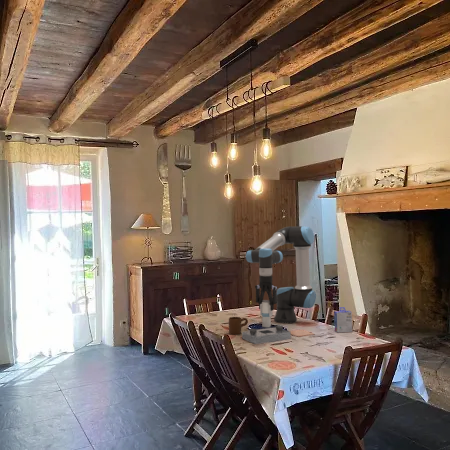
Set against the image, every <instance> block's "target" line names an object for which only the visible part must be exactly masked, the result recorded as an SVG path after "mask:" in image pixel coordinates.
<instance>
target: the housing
mask: <svg viewBox="0 0 450 450" xmlns="http://www.w3.org/2000/svg"><path fill="white" fill-rule="evenodd" d="M290 331H291V330H290ZM290 331H289V330H286V329H281V331H278V329H276V326H275V327H266V328H260V329H257V333H255V334H253V335H252V334H251V333H250V331H249V330H245V331H241V334H242V335H241V336H242V337H241V338H242V340H245V341H246V342H249V343H251V344H253V345H258V344H264V343H265V344H266V343H271V342H279V341H284V340H291V337H292V335H291V332H290Z"/></svg>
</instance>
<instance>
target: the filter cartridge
mask: <svg viewBox="0 0 450 450" xmlns="http://www.w3.org/2000/svg"><path fill="white" fill-rule="evenodd" d="M269 305H270V301H269V299H263V302H262V316H261V324H262V325H261V326H262V328H272V316H271V317H269Z"/></svg>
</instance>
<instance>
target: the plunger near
mask: <svg viewBox="0 0 450 450" xmlns="http://www.w3.org/2000/svg"><path fill="white" fill-rule="evenodd" d="M257 330H258V329H256V328H250V329H249V330H248V331H250V333H251V334H252V335H253V334H255V333H257Z"/></svg>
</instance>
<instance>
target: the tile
mask: <svg viewBox="0 0 450 450" xmlns="http://www.w3.org/2000/svg"><path fill="white" fill-rule="evenodd" d="M290 332H291V336H293V337H296V338H301V337H308V336H314V335H315V333H314V332H311V331H308V330H304V329H298V330H297V329H296V330H290Z"/></svg>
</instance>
